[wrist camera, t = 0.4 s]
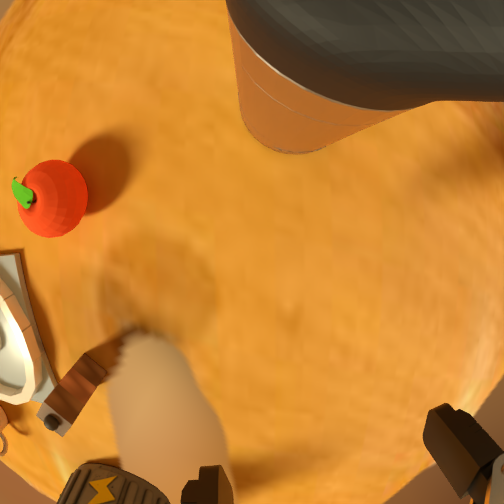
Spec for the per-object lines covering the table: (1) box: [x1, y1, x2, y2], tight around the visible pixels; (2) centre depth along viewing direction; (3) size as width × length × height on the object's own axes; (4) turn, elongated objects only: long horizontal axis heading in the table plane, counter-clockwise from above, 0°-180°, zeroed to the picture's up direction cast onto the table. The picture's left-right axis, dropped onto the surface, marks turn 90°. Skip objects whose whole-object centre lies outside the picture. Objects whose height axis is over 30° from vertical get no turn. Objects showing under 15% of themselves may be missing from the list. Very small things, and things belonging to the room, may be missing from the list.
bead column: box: [36, 353, 107, 437], centre depth 25 cm, size 3×3×11 cm
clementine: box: [12, 160, 88, 238], centre depth 22 cm, size 8×7×7 cm
